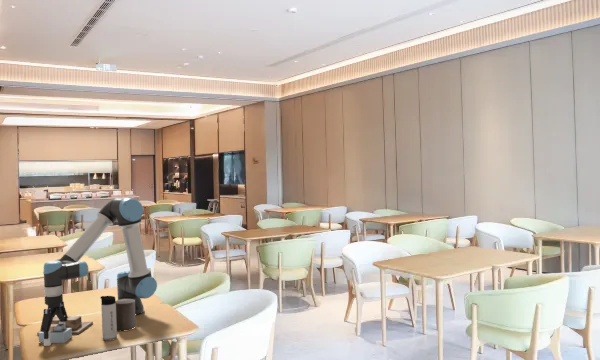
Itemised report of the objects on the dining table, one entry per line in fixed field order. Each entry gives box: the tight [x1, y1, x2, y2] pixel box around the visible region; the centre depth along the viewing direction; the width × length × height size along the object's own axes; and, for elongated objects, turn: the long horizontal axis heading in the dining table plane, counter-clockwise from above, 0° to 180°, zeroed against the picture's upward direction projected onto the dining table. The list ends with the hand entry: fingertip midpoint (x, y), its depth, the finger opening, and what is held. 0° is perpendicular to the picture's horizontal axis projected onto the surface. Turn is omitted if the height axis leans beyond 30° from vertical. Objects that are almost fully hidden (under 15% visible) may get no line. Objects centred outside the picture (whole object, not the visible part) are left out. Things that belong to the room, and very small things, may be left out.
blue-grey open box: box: [38, 328, 73, 344], centre depth 229 cm, size 12×7×5 cm, turn 86°
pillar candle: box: [115, 299, 136, 332], centre depth 244 cm, size 10×10×15 cm
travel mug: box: [100, 295, 118, 342], centre depth 229 cm, size 6×7×20 cm
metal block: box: [53, 324, 65, 332], centre depth 229 cm, size 4×4×4 cm
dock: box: [36, 315, 94, 336], centre depth 245 cm, size 20×16×6 cm
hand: (55, 340), depth 229 cm, fingers open, 13 cm apart
